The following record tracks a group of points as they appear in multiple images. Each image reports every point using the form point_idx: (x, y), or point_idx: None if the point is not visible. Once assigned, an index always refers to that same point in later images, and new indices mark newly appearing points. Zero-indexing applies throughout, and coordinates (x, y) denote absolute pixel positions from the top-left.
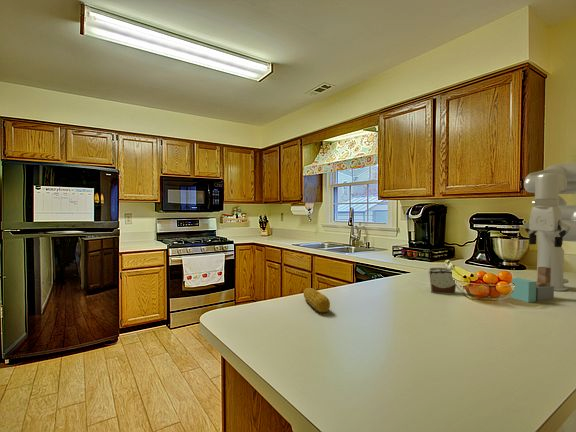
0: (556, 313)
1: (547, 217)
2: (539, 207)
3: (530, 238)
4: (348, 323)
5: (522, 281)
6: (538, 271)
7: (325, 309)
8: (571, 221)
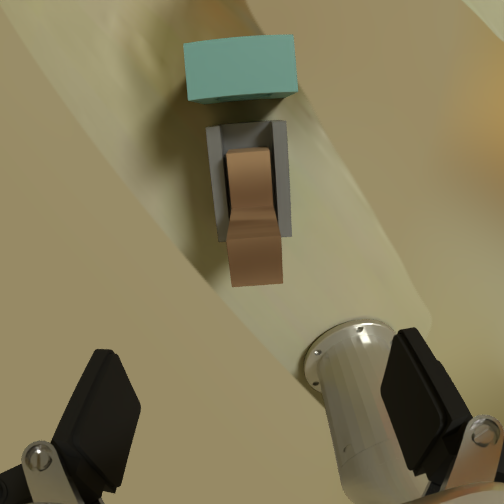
0: (75, 54)
1: None
2: None
3: (432, 378)
4: None
5: (222, 39)
6: (273, 225)
7: None
8: None
